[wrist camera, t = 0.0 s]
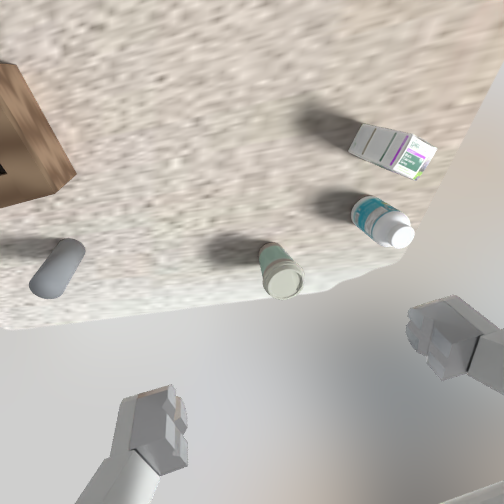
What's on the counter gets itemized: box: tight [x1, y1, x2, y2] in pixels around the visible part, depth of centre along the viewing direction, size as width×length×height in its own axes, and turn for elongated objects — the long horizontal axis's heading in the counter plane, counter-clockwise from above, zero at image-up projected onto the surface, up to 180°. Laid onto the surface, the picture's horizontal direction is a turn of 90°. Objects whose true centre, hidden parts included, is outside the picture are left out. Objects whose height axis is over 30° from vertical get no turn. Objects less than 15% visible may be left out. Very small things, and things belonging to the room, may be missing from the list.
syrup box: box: [348, 124, 438, 181], centre depth 51 cm, size 6×6×14 cm
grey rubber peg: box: [29, 239, 85, 299], centre depth 51 cm, size 5×5×12 cm
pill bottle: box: [351, 196, 414, 249], centre depth 59 cm, size 8×7×14 cm
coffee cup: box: [258, 242, 305, 300], centre depth 61 cm, size 8×9×12 cm
